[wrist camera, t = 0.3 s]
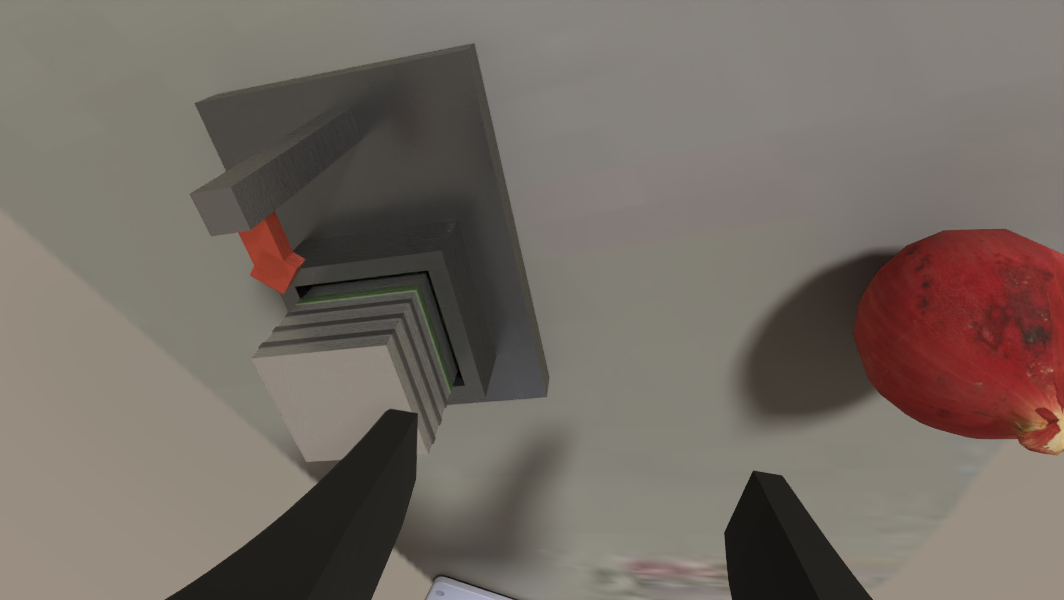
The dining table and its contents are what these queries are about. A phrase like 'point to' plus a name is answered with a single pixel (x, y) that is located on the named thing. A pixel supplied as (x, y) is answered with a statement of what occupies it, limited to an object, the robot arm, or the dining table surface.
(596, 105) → the dining table surface
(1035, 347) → the onion
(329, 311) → the column
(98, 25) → the dining table surface
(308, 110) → the jack base
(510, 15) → the dining table surface
